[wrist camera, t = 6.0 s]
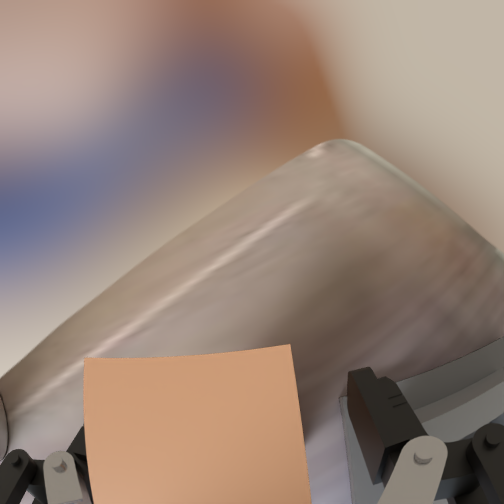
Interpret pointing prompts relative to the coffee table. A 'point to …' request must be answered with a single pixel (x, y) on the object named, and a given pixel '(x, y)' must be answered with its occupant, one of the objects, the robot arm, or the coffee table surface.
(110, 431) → the orange rectangular block
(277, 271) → the coffee table surface
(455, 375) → the well
